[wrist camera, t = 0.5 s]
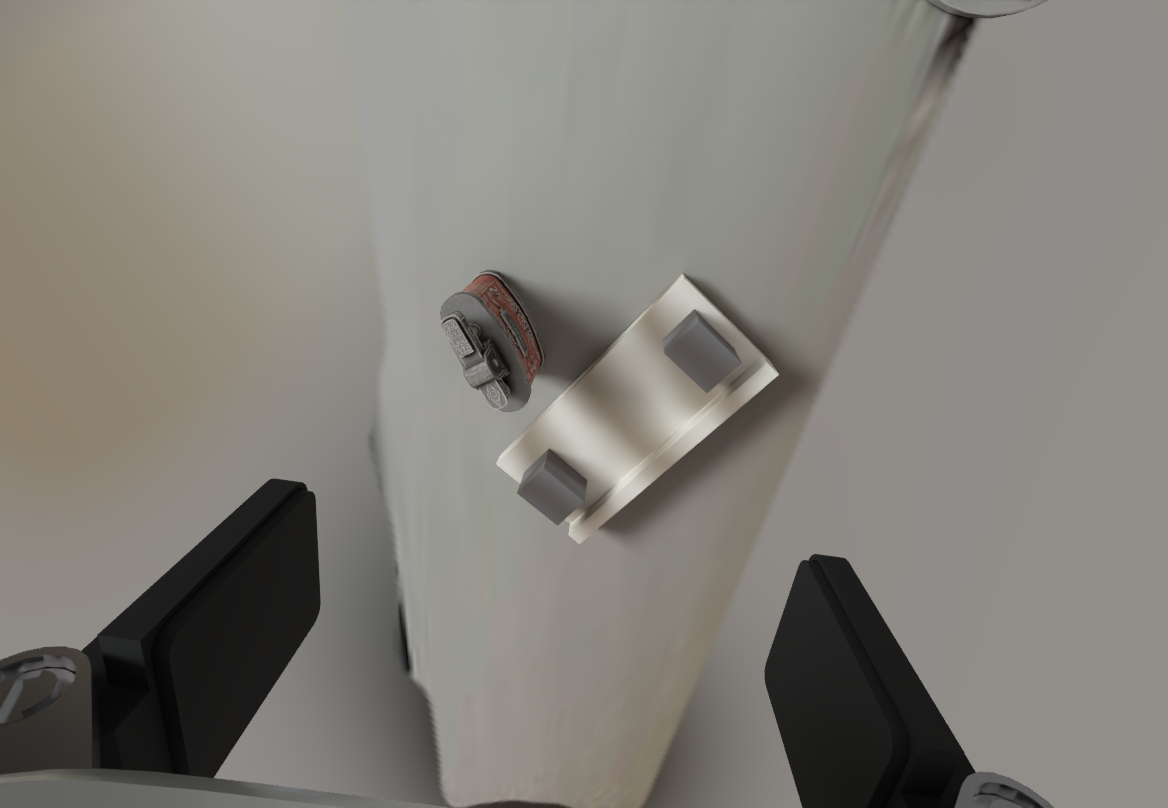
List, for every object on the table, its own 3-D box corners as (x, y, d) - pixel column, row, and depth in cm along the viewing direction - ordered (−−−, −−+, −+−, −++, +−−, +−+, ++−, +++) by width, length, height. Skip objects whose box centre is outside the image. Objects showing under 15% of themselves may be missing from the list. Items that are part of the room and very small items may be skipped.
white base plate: (682, 273, 40) (688, 287, 36) (769, 359, 42) (784, 382, 38) (500, 455, 47) (487, 484, 42) (582, 521, 49) (578, 556, 44)
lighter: (555, 360, 43) (535, 416, 34) (516, 378, 44) (486, 438, 35) (501, 261, 40) (464, 293, 31) (461, 282, 41) (412, 320, 32)
